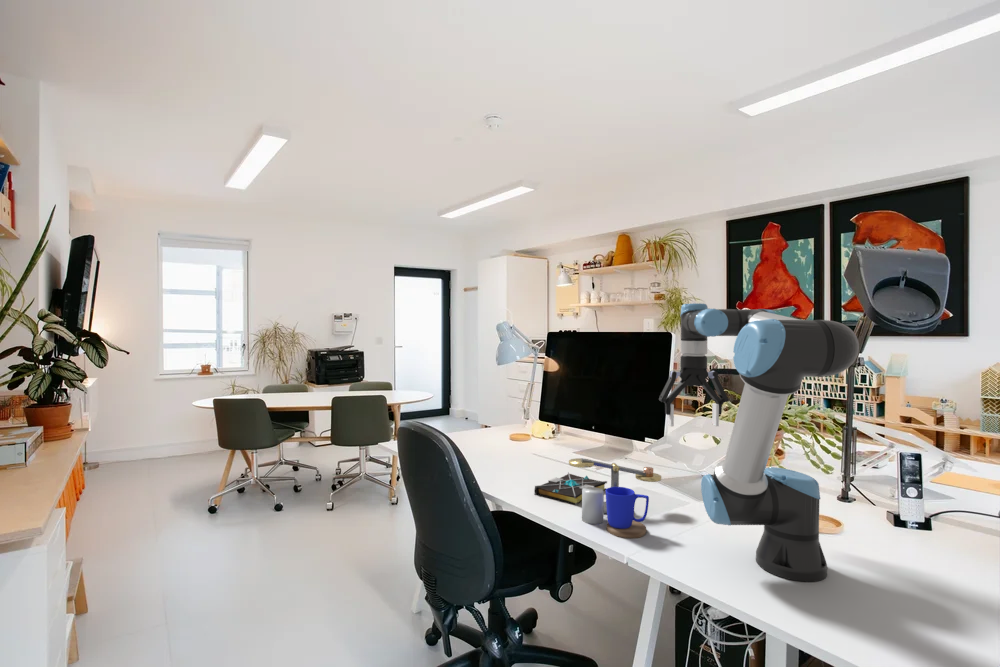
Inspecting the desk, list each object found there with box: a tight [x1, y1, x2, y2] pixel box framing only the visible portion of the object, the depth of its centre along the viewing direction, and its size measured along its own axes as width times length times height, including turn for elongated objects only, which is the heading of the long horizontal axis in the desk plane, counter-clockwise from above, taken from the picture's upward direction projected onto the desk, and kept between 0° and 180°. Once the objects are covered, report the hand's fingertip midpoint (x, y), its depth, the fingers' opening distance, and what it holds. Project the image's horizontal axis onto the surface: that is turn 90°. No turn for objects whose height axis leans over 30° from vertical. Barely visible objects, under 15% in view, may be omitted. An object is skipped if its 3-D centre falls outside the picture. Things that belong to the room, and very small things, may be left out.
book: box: [533, 471, 608, 506], centre depth 181 cm, size 22×17×5 cm
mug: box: [605, 486, 650, 529], centre depth 147 cm, size 8×12×10 cm
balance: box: [568, 457, 662, 515], centre depth 164 cm, size 8×30×16 cm, turn 92°
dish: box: [606, 520, 647, 539], centre depth 147 cm, size 11×11×1 cm
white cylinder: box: [581, 487, 605, 525], centre depth 155 cm, size 6×6×9 cm
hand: (693, 425), depth 154 cm, fingers open, 13 cm apart
